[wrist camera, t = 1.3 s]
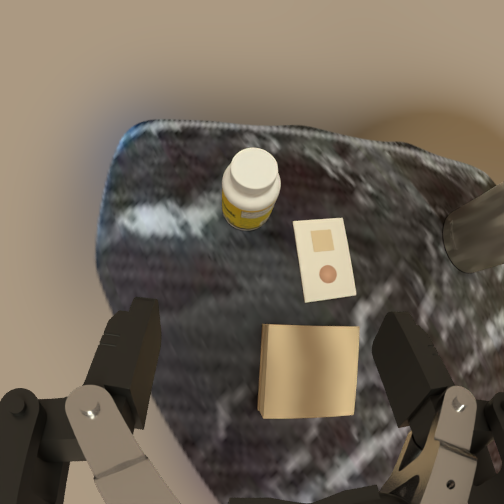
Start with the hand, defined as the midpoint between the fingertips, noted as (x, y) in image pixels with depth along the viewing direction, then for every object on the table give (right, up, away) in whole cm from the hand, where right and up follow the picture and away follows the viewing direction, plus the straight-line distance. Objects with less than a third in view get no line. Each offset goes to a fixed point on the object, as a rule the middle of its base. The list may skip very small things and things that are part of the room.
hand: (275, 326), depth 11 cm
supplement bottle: (-1, +7, +25) cm, 26 cm away
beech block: (+5, -10, +21) cm, 24 cm away
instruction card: (+7, +2, +24) cm, 25 cm away
